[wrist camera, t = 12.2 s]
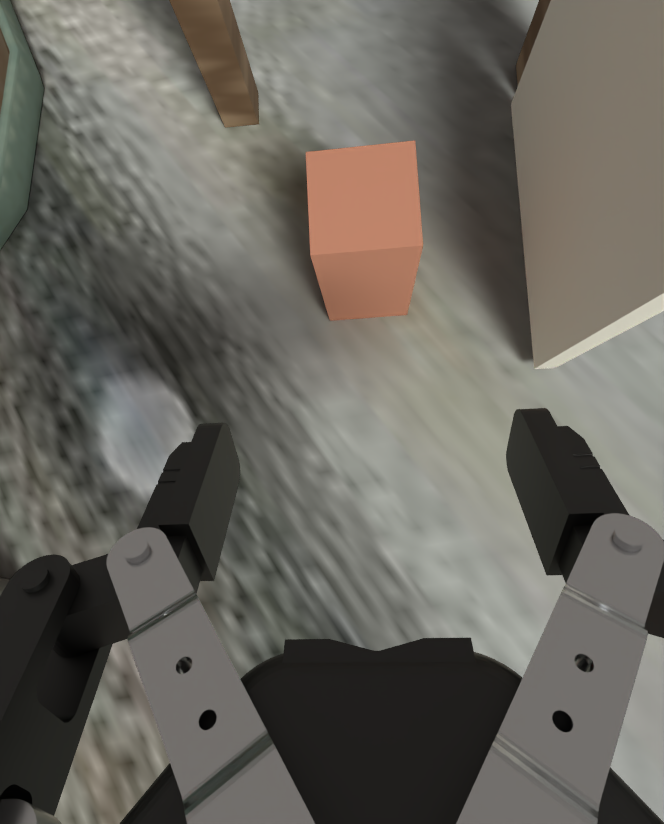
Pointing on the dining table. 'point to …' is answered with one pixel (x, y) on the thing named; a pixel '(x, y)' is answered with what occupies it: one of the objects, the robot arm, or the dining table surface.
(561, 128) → the door
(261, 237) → the dining table surface
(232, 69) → the door frame
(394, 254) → the salmon orange block
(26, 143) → the tea set
